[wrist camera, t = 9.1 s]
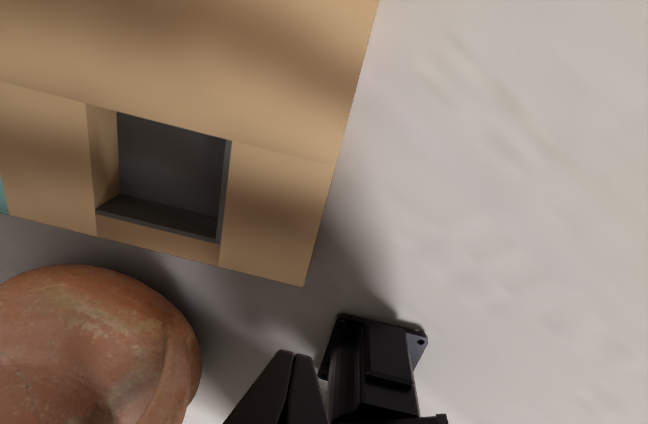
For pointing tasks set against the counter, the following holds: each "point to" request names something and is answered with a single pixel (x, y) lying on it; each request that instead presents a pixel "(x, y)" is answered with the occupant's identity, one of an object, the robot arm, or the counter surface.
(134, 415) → the ceramic jug
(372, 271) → the counter surface
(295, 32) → the toy board
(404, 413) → the robot arm
